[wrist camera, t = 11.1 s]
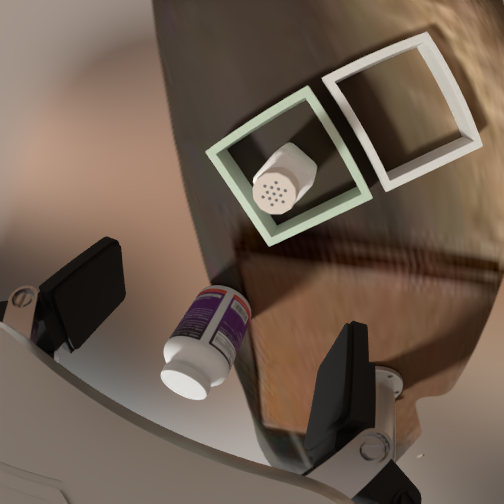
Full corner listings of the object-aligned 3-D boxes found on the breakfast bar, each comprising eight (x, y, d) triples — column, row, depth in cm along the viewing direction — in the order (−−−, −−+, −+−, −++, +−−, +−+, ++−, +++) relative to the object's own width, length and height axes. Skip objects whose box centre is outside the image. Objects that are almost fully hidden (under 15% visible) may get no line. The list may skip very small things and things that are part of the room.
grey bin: (470, 141, 20) (482, 146, 17) (380, 183, 25) (385, 192, 23) (418, 38, 17) (427, 31, 14) (322, 81, 22) (321, 78, 20)
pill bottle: (195, 310, 41) (148, 383, 29) (206, 272, 37) (150, 350, 25) (243, 333, 41) (209, 413, 29) (262, 297, 37) (225, 387, 24)
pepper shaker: (265, 167, 28) (235, 195, 20) (290, 139, 26) (270, 154, 18) (294, 192, 29) (277, 230, 21) (320, 165, 26) (314, 193, 18)
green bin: (369, 189, 26) (372, 198, 24) (274, 234, 31) (269, 247, 29) (310, 88, 23) (307, 85, 20) (216, 147, 28) (205, 151, 26)
